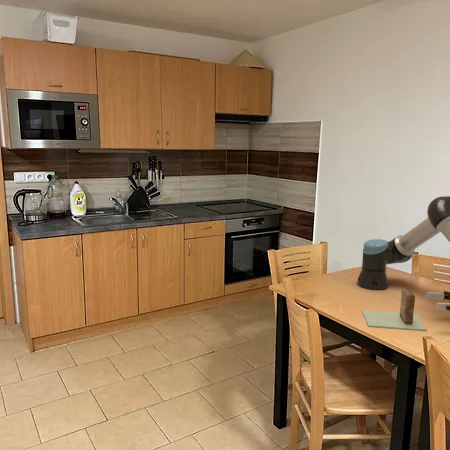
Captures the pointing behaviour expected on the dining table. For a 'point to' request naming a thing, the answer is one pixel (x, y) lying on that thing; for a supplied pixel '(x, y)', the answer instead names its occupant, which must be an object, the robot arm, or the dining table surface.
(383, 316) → the mat
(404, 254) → the robot arm
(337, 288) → the dining table surface
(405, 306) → the slim walnut box
